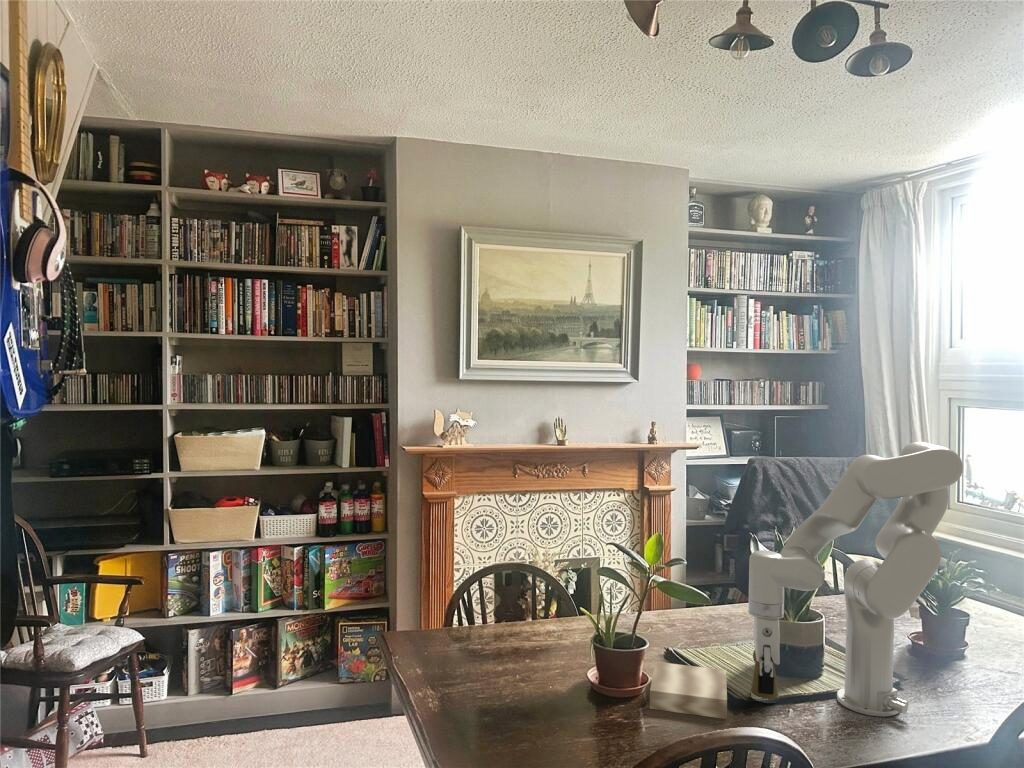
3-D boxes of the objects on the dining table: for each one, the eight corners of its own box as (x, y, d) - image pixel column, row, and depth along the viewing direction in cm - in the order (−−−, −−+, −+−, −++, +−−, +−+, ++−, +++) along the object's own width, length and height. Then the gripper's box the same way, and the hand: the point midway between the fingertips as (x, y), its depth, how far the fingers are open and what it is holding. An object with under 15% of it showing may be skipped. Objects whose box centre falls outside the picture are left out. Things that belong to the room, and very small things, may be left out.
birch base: (725, 687, 169) (726, 670, 169) (726, 719, 153) (727, 700, 153) (655, 678, 173) (655, 661, 173) (649, 708, 158) (649, 690, 157)
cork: (780, 705, 160) (781, 655, 160) (751, 702, 161) (752, 653, 161) (776, 693, 166) (777, 645, 166) (748, 690, 167) (749, 643, 167)
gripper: (787, 622, 154) (785, 704, 154) (780, 597, 170) (779, 672, 171) (750, 618, 156) (748, 700, 156) (746, 594, 172) (745, 668, 173)
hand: (764, 684), depth 163 cm, fingers open, 7 cm apart
